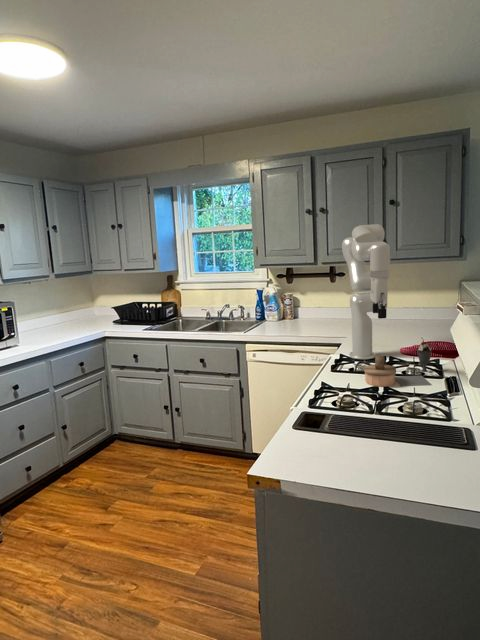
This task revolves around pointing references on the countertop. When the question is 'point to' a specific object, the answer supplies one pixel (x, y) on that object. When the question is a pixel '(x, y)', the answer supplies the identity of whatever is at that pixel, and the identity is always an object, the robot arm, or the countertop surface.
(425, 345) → the sundae
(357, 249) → the robot arm
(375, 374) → the lid
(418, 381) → the mat
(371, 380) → the bowl
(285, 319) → the countertop surface
